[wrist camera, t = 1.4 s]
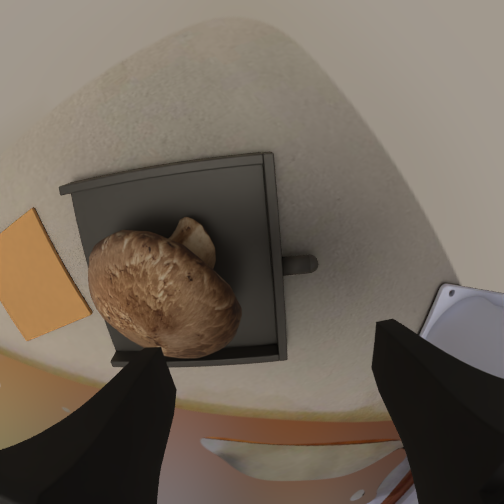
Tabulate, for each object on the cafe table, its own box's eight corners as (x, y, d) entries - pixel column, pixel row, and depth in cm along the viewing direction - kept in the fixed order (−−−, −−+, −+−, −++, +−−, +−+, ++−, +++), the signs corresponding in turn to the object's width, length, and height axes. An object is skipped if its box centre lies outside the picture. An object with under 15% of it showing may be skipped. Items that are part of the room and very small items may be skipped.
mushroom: (212, 165, 13) (139, 298, 9) (286, 278, 18) (255, 386, 14) (103, 199, 17) (44, 290, 13) (180, 281, 22) (144, 362, 18)
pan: (119, 353, 20) (112, 367, 19) (72, 182, 16) (58, 187, 15) (315, 341, 20) (320, 356, 19) (309, 148, 16) (315, 150, 14)
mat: (34, 207, 17) (31, 208, 16) (92, 312, 19) (91, 314, 19) (-22, 254, 18) (-25, 255, 17) (28, 339, 20) (26, 341, 20)
